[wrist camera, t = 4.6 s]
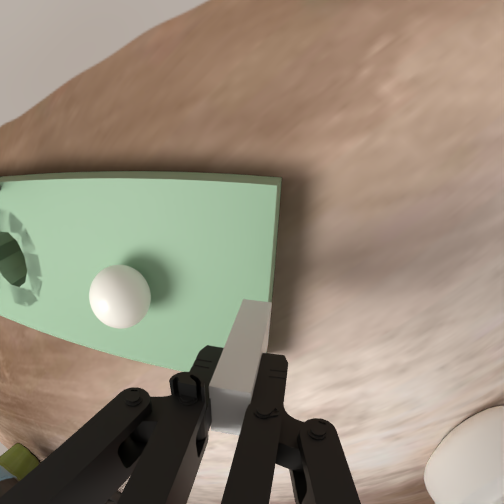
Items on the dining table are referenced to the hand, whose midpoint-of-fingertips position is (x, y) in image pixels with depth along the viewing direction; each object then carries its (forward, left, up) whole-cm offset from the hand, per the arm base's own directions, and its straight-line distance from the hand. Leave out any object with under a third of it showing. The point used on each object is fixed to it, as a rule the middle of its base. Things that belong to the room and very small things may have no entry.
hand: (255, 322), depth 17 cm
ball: (-9, 0, -1) cm, 9 cm away
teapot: (+27, -20, -7) cm, 35 cm away
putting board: (-16, 0, -7) cm, 17 cm away
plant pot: (-53, -55, -7) cm, 77 cm away
